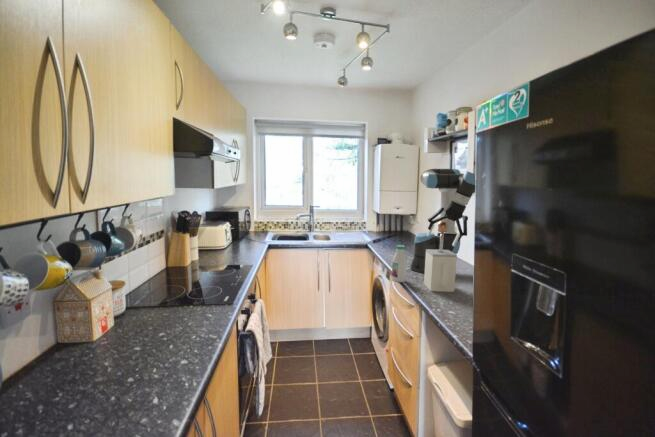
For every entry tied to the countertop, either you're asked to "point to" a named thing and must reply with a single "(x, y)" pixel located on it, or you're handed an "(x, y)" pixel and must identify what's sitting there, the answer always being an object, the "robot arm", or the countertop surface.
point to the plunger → (442, 233)
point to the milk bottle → (399, 265)
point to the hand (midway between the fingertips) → (440, 240)
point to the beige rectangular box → (440, 270)
